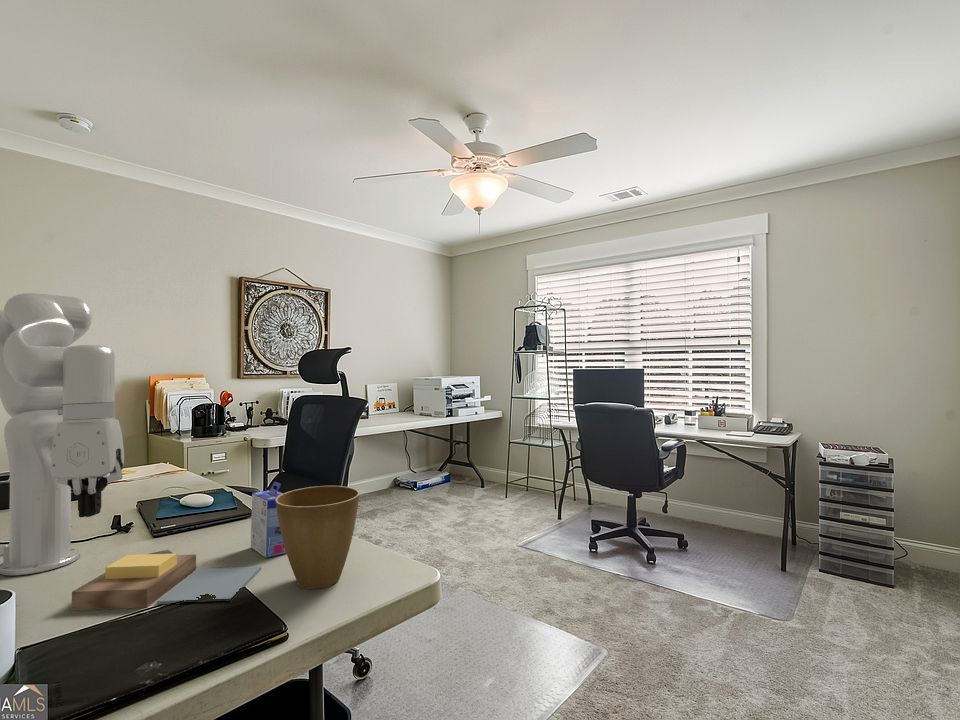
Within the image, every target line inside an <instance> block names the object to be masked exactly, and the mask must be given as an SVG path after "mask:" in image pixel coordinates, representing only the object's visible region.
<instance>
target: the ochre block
mask: <svg viewBox="0 0 960 720" xmlns="http://www.w3.org/2000/svg"><path fill="white" fill-rule="evenodd" d="M177 555H178V553H173V554H150V553H145V554H127V555H125V556H123V557H121V558H120V559H117V560H116V561H114V562H113V563H111V564H109V565H107V566H106V567H105V571H104V573H105V579H119V578H146V577H159V576H161V575H162V574H164V573H165V572H167V571H168V570H169V569H171V568H172V567H174V566H175V565H177Z"/></svg>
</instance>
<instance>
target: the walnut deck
mask: <svg viewBox="0 0 960 720" xmlns="http://www.w3.org/2000/svg"><path fill="white" fill-rule="evenodd" d="M195 571H197V554H195V553H193V554H191V553H190V554H177V565H175V566H174V567H172V568H171V569H169V570H168V571H167V572H165V573H164V574H162V575H161V576H159V577H146V578H119V579H105V572H104V573H102V574H100V575H99V576H97V577H95V578H93V579H91V580H89V581H88V582H86V583H84V584H83V585H81V586H80V587H77V588H76V589H74V590H73V591H71V611H85V610H90V611H91V610H107V609H108V610H111V609H112V610H114V609H134V608H135V609H136V608H139V609H140V608H149V606H151V605H152V604H154V603H155V602H157V601H158V600H159V599H161V598H162V597H163V596H164V595H166V594H167V593H168V592H170V591H171V590H172V589H173V588H175V587H176V586H177V585H179V584H180V583H181V582H182V581H184V580H185V579H186V578H188V577H189V576H190V575H191V574H193V573H194V572H195Z"/></svg>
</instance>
